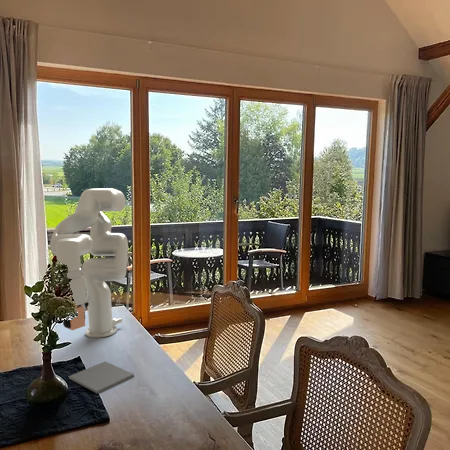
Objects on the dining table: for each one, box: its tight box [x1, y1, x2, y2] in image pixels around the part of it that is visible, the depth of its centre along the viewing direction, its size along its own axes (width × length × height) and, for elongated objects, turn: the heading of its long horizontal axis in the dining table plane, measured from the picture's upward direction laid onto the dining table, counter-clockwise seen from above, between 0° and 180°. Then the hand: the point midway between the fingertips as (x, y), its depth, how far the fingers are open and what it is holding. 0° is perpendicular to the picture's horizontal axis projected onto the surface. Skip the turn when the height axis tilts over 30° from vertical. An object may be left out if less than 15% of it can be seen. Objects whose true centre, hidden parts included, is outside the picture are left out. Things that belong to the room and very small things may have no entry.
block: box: [67, 305, 86, 331], centre depth 157 cm, size 5×5×7 cm
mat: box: [68, 361, 135, 394], centre depth 148 cm, size 14×16×1 cm
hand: (74, 324), depth 157 cm, fingers closed on block, 5 cm apart
